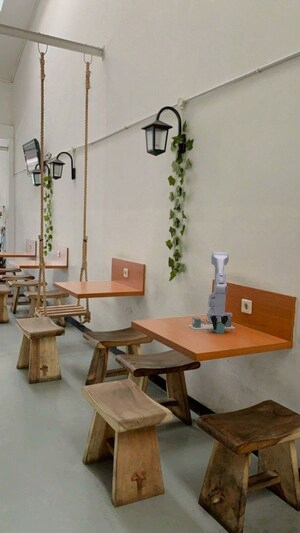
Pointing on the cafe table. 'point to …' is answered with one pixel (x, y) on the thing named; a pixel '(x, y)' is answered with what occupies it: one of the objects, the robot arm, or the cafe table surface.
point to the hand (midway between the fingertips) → (218, 329)
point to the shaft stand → (197, 324)
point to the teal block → (219, 327)
